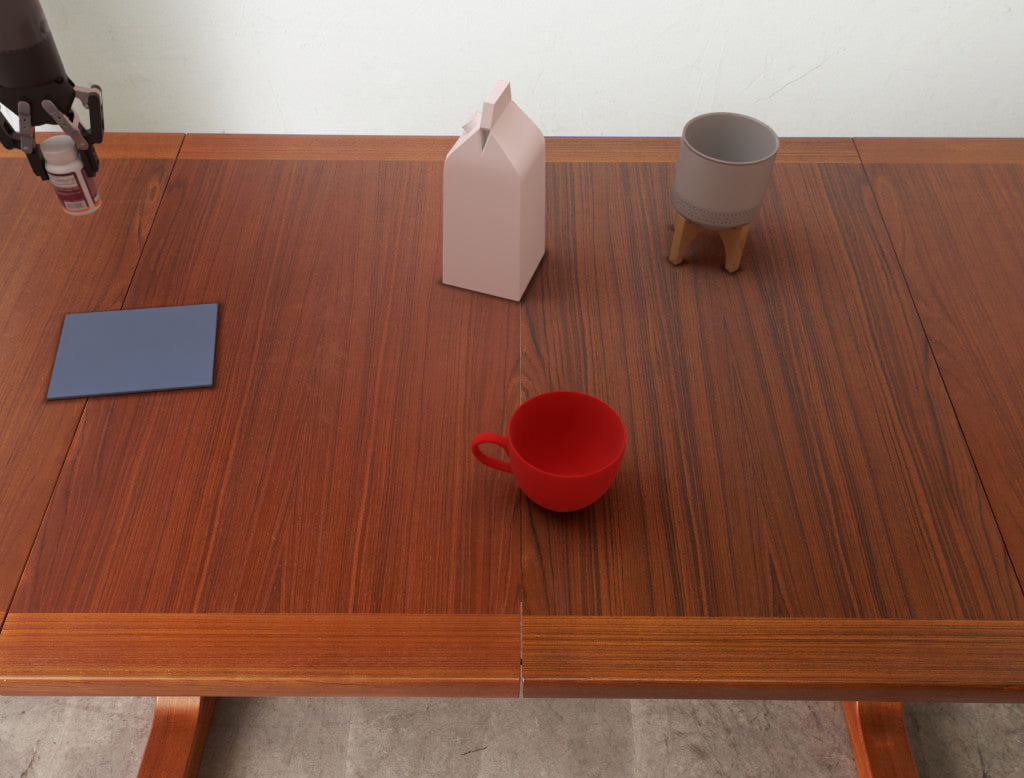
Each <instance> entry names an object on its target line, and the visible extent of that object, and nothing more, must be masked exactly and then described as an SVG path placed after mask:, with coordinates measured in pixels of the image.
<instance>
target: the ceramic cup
mask: <svg viewBox="0 0 1024 778" xmlns="http://www.w3.org/2000/svg"><path fill="white" fill-rule="evenodd" d="M486 443H487V444H495V445H498V446H499V447H500V448H502V449H503V451H505V453H506V455H507V457H508V458H509V461H505V460H501V459H498V458H495V457H493V456H490V455H488V454H486V453H484V452H483V451H482V450H481V449H480V448H479V445H481V444H486ZM626 446H627V431H626V427H625V424H624V422H623V420H622V418H621V417H620V415H619V414H618V413H617V411H616V410H615V409H614V408H613V407H611V406H610V405H609V403H607V402H605V401H604V400H601V399H600V398H599V397H596V396H593V395H592V394H588V393H586V392H585V393H584V392H581V391H577V390H576V391H575V390H567V389H565V390H564V389H563V390H552V391H546V392H542V393H539V394H537V395H536V394H535V395H534V396H532V397H530V398H527V399H526V400H525V401H524V402H523V403H521V404H519V406H518V407H517V408H516V409H515V411H514V412H513V413H512V414H511V417H510V419H509V421H508V426H507V436H504V435H502V434H499V433H494V432H488V431H487V432H486V431H485V432H480V433H478V434H477V435H475V436H474V437H473V439H472V440H471V449H470V450H471V452H472V455H473V456H474V458H475V459H476V460H477V461H478V462H479V463H481V464H483V465H484V466H486V467H488V468H491V469H493V470H497V471H500V472H504V473H507V474H513V477H514V479H515V481H516V483H517V484H518V486H519V488H520V490H521V491H522V492H523V493H524V494H525V496H527V498H528V499H529V500H530V501H532V502H533V503H535V504H536V505H538V506H539V507H541V508H544V509H546V510H549V511H553V512H556V513H569V512H575V511H579V510H583V509H584V508H587V507H589V506H590V505H592V504H594V503H596V502H597V501H598V500H599V499H601V497H603V496H604V495H605V494H606V492H607V491H608V490H609V488H610V487H611V486H612V484H613V482H614V481H615V479H616V477H617V474H618V472H619V470H620V467H621V464H622V461H623V459H624V455H625V451H626Z"/></svg>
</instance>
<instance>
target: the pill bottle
mask: <svg viewBox="0 0 1024 778" xmlns="http://www.w3.org/2000/svg"><path fill="white" fill-rule="evenodd" d="M40 149H41V151H42V154H43V156H44V158H45V164H44V165H45V169H46V171H47V173H48V176H49V178H50V179H49V181H50V182H51V185H52V188H53V190H54V192H55V194H56V196H57V199H58V201H59V204H60V206H61V208H62V210H63V212H64V213H66V214H67V215H70V216H75V217H83V216H86V215H90V214H93V213H94V212H96V211H98V210H99V209H100V208H101V205H102V198H101V196H100V193H99V190H98V188H97V184H96V182H95V180H94V177H88V174H87V172H86V169H85V167H84V164H83V161H82V159H81V156H80V154H79V151H78V150H79V147H78V146H77V144H76V143H75V142H74V141H73V139H72V138H71V137H70V136H69V135H67V134H60V135H59V134H58V135H53V136H50V137H48V138H46V139H45V140H43V141H42V142H41V143H40Z"/></svg>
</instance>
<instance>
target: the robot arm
mask: <svg viewBox="0 0 1024 778" xmlns="http://www.w3.org/2000/svg"><path fill="white" fill-rule="evenodd" d="M76 98H77V99H78V100H80V102H81V105H82V106H83V107H84V109H85V110H88V114H89V115H88V116H89V126H90V128H87V127H86V126H85V125H84V123H83V122H82V121H81V117H80V115H79V114H78V112H77V111H76V110H75V108H74V107H73V104H74V103H75V102H74V101H75V99H76ZM103 101H104V99H103V90H102V87H101V86H100V85H99V84H95V83H94V84H92V85H91V86H90V87H85V86H79V85H76V84H75V82H74V81H73V79H71V77H69V76H68V74H67V72H66V68H65V66H64V62H63V61H62V58H61V55H60V52H59V50H58V48H57V44H56V41H55V39H54V36H53V33H52V31H51V28H50V25H49V23H48V20H47V17H46V14H45V12H44V9H43V6H42V3H41V1H40V0H0V144H1V145H2V146H3V148H5V149H6V150H8V151H12V150H14V149H16V150H20V151H22V152H23V153H24V154H25V156H26V158H27V161H28V163H29V165H30V168H31V170H32V172H33V174H34V175H35V176H36V177H40V179H41V181H42V182H44V181H50V178H49V176H48V173H47V171H46V169H45V165H44V164H45V158H44V156H43V154H42V151H41V149H40V145H41V143H37V142H36V127H42V126H45V125H50V126H51V125H52V126H59V127H60V129H61V130H62V132H63V133H64V135H66V136H70V137H71V138H72V139H73V141H74V142H75V143H76V144H77V146H78V148H79V150H78V151H79V154H80V156H81V159H82V161H83V164H84V167H85V169H86V172H87V174H88V177H93V178H96V175H97V173H98V172H99V168H100V159H99V156H98V153H97V151H96V148H95V145H96V144H97V145H100V144H102V143H103V139H104V135H105V130H106V128H105V116H104V102H103ZM2 106H4V107H5V108H6V109H8V111H11V112H12V113H13V114H14V115H15V116H17V117H18V131H19V132H17V131H16V130H15V128H14V127H13V125H12V124H11V123H10V122H9V120H8V118H6V116H5V115H4V113H3V112H2V111H1V109H2Z"/></svg>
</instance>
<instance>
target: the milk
mask: <svg viewBox="0 0 1024 778" xmlns="http://www.w3.org/2000/svg"><path fill="white" fill-rule="evenodd" d="M511 90H512V89H511V81H507V80H501V79H499V80H498V81H497V83H496V84H495V86H494V87H493V89H492V90H491V91H490V93H489V94H488V96H486V98H485V100H484V101H483V105H482V110H481V112H480V111H479V110H476V111H475V112H474V113H472V115H470V116H469V117H468V119H466V121H465V122H464V123H463V124H462V126H461V128H462V129H463V131H462V133H461V135H460V136H459V137H458V139H457V140H456V141H455V143H454V144H453V146H452V147H451V148H450V150H449V151H448V153H447V154H446V157H445V160H444V163H443V170H442V171H443V172H442V174H443V175H442V284H445V285H448V286H453V287H456V288H460V289H465V290H470V291H473V292H478V293H482V294H485V295H490V296H495V297H498V298H503V299H507V300H511V301H515V302H520V301H521V298H522V297H523V295H524V293H525V291H526V290H527V287H528V285H529V284H530V281H531V280H532V278H533V277H534V274H535V272H536V270H537V268H538V266H539V264H540V263H541V261H542V259H543V257H544V255H545V253H546V250H545V249H546V139H545V135H544V133H543V132H542V130H541V129H540V127H538V125H537V124H536V123H535V122H534V121H533V120H532V118H530V117H529V116H528V115H527V113H525V112H524V110H523V109H522V108H521V107H520V106H519V105H518V104H517V103H516V102H515V101H514V100H512V91H511Z"/></svg>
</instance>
